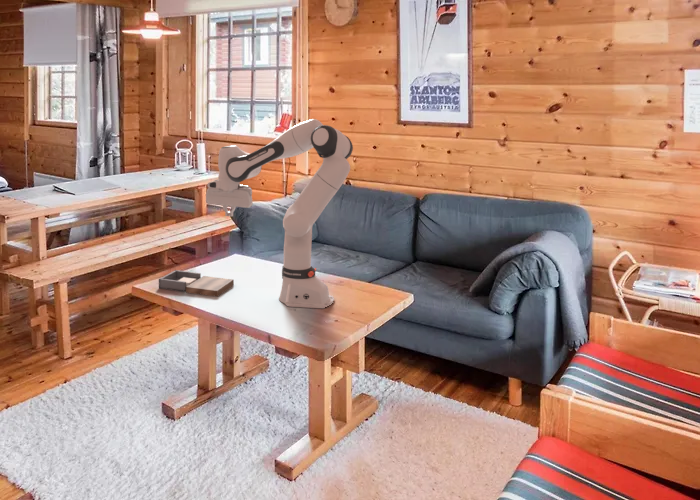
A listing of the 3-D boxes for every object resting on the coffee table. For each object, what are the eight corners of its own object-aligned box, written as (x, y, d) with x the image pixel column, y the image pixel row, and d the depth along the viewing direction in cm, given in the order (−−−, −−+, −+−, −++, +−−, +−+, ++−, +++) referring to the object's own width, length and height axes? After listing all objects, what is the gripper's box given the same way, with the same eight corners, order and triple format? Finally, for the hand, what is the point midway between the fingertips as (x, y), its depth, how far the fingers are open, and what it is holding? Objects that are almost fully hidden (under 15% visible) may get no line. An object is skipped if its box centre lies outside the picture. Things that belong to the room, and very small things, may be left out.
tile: (196, 283, 274) (196, 278, 273) (189, 287, 268) (189, 282, 268) (183, 281, 275) (183, 277, 275) (176, 285, 269) (176, 281, 269)
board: (233, 285, 275) (233, 279, 274) (217, 296, 260) (217, 290, 259) (203, 281, 278) (203, 275, 278) (185, 292, 263) (185, 286, 263)
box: (200, 281, 278) (200, 273, 277) (184, 291, 265) (184, 282, 263) (175, 278, 280) (175, 270, 279) (158, 288, 267) (158, 279, 266)
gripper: (254, 184, 270) (254, 216, 274) (210, 181, 275) (211, 212, 278) (249, 187, 264) (249, 219, 268) (203, 183, 269) (204, 215, 273)
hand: (229, 216), depth 273 cm, fingers closed
